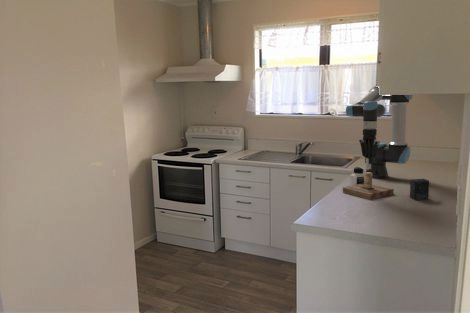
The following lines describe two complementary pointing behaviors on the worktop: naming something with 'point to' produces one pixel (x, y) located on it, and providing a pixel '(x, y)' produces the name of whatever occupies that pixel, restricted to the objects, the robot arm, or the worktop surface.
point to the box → (419, 189)
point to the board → (368, 191)
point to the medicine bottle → (357, 176)
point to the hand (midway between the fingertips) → (368, 169)
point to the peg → (368, 180)
